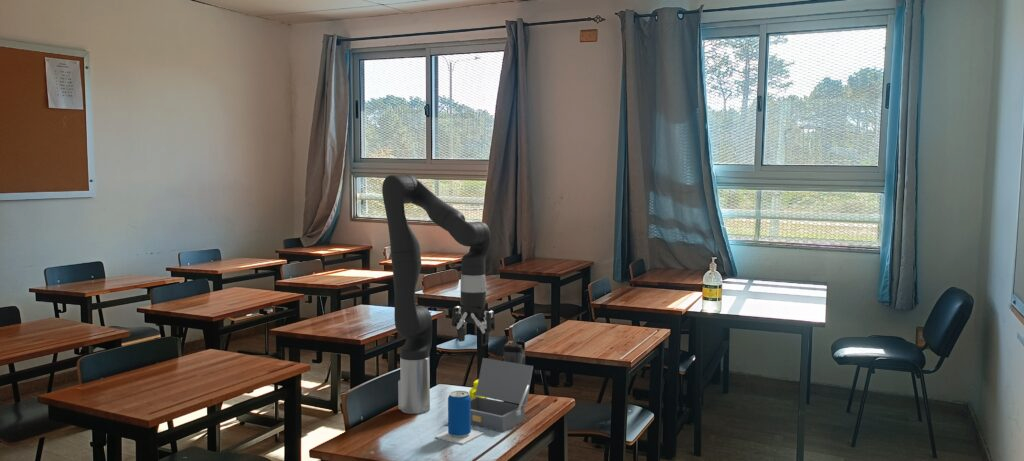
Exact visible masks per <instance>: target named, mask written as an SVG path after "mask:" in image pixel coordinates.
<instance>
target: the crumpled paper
mask: <svg viewBox="0 0 1024 461" xmlns="http://www.w3.org/2000/svg"><path fill="white" fill-rule="evenodd" d="M478 380H479V378H478V379H475V380H474V381H473V387H472V386H471V388H470V389H469V392H468V393H469V396H470V398H471V399H472V398H475V397H481V398H486V399H487V397H482V396H477V395H476V391H477V385H478Z"/></svg>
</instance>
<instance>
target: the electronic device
mask: <svg viewBox="0 0 1024 461" xmlns="http://www.w3.org/2000/svg"><path fill="white" fill-rule="evenodd" d="M503 361H506V362H512V363H518V364H524V365H526V342H525V341H524V340H519V339H518V340H517V339H510V340H508V341H507V342H506V343H505V344H504V345H503ZM503 402H506V403H511V404H516V405H519V404H517V403H512V402H507V401H503Z"/></svg>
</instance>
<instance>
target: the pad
mask: <svg viewBox="0 0 1024 461" xmlns="http://www.w3.org/2000/svg"><path fill="white" fill-rule="evenodd" d="M484 434H485V432H482V431H478V430H474V429H471V432H470V433H469V434H468V435H467V436H465V437H459V438H458V437H453V436H451V435H450V434H449V433H448V429H447V430H446V431H444V432H441V433H440V434H438V435H435V436H434V438H435V439H439V440H442V441H447V442H451V443H456V444H457V445H458V444H459V445H462V446H463V445H466V444H467V443H469V442H471V441H473V440H474V439H477V438H478V437H479V438H480V437H481V436H482V435H484Z"/></svg>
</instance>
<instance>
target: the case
mask: <svg viewBox="0 0 1024 461" xmlns="http://www.w3.org/2000/svg"><path fill="white" fill-rule="evenodd" d="M481 360H482V362H481V365H480V371H479V376H478V385H477V391H476V395H477V396H482V397H486V398H481V397H475V398H472V399H471V426H474V427H478V428H482V429H486V430H490V431H495V432H498V433H505V432H507V431H508V430H510V429H513V428H514V427H515V426H517V425H519V424H521V423H523V422H525V417H526V416H525V413H526V412H525V410H526V409H525V408H526V407H525V406H527V404H528V399H529V393H530V387H531V381H532V376H533V370H534V365H528V364H525V365H524V364H518V363H512V362H506V361H504V360H500V359H493V358H486V357H482V359H481ZM504 401H507V402H512V403H517V404H519V405H516V404H511V403H506V402H504Z"/></svg>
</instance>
